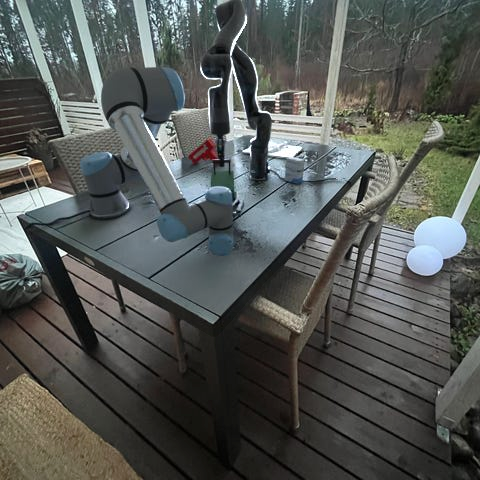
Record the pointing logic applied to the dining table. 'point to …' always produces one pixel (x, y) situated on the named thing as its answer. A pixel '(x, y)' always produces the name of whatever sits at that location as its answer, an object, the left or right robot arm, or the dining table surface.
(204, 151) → the toy gun
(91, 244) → the dining table surface
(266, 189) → the dining table surface
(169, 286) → the dining table surface
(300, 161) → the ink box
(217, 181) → the lid
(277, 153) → the relief map
